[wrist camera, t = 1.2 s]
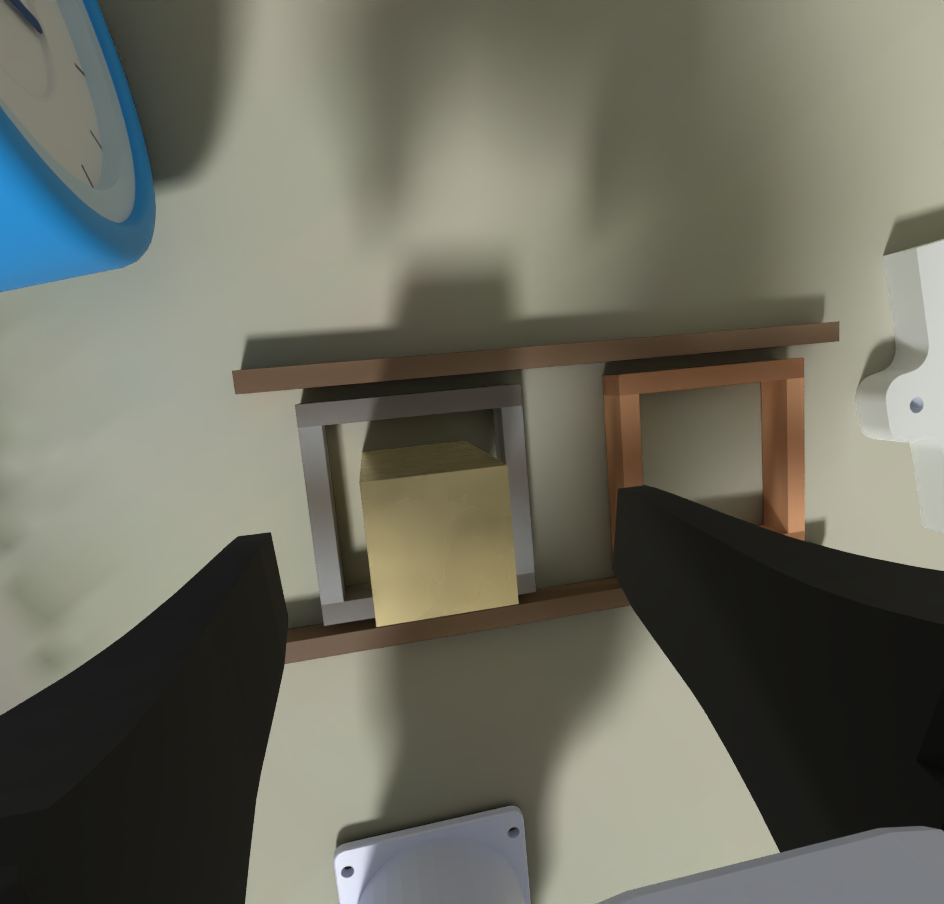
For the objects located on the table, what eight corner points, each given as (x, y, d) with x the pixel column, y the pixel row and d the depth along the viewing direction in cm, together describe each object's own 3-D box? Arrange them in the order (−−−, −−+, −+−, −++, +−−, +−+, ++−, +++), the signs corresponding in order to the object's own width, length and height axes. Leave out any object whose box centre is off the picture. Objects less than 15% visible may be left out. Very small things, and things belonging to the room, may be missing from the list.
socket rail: (817, 561, 26) (844, 572, 24) (279, 650, 22) (273, 669, 20) (816, 324, 24) (845, 320, 23) (239, 371, 20) (229, 370, 19)
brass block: (472, 537, 23) (518, 604, 16) (373, 551, 22) (376, 627, 15) (464, 440, 22) (507, 465, 15) (362, 451, 21) (359, 482, 15)
